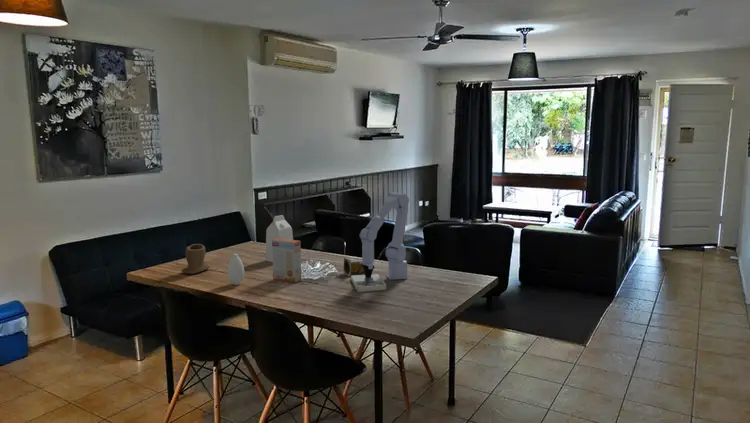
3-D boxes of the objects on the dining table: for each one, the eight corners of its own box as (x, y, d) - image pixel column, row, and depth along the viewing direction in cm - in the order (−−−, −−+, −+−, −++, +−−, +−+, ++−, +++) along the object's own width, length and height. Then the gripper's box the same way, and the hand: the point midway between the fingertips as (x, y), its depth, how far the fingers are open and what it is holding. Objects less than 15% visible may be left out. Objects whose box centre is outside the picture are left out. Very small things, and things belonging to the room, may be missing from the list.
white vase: (239, 281, 273) (237, 246, 270) (247, 284, 267) (246, 249, 264) (225, 284, 267) (223, 249, 264) (233, 287, 262) (231, 251, 259)
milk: (280, 256, 323) (279, 213, 319) (294, 259, 316) (293, 215, 312) (265, 260, 313) (264, 216, 309) (279, 263, 307) (278, 218, 302)
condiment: (350, 276, 281) (369, 273, 288) (350, 260, 280) (370, 258, 286) (343, 273, 287) (362, 270, 293) (343, 257, 286) (362, 255, 292)
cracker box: (302, 280, 274) (301, 240, 270) (294, 283, 269) (293, 242, 265) (280, 276, 281) (279, 237, 277) (272, 279, 275) (271, 239, 272)
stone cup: (194, 276, 281) (192, 248, 278) (178, 273, 287) (176, 246, 284) (216, 269, 294) (214, 243, 291) (200, 267, 300) (199, 240, 297)
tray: (382, 284, 267) (382, 279, 267) (386, 290, 258) (386, 285, 257) (354, 285, 265) (354, 281, 264) (357, 291, 255) (357, 287, 255)
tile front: (374, 286, 263) (374, 282, 262) (375, 288, 259) (375, 284, 258) (366, 286, 262) (366, 282, 261) (367, 289, 258) (367, 285, 258)
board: (378, 277, 278) (378, 274, 278) (382, 284, 268) (382, 280, 267) (351, 279, 276) (351, 275, 275) (354, 285, 265) (354, 281, 265)
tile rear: (372, 280, 266) (372, 277, 266) (373, 285, 263) (374, 281, 262) (364, 281, 266) (364, 277, 265) (365, 285, 262) (365, 282, 261)
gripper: (357, 249, 270) (357, 275, 273) (362, 256, 256) (362, 284, 259) (371, 249, 272) (371, 275, 274) (377, 256, 258) (377, 283, 260)
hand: (368, 279), depth 266 cm, fingers closed
